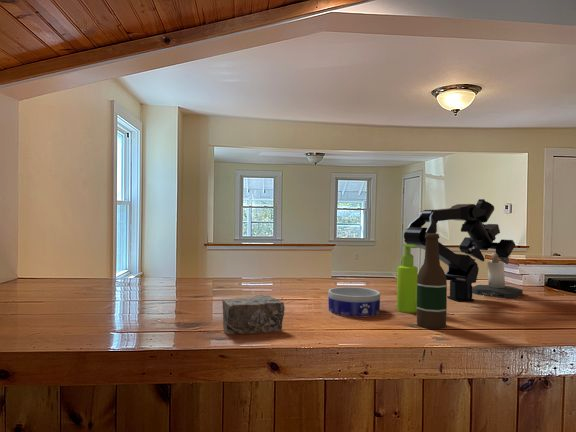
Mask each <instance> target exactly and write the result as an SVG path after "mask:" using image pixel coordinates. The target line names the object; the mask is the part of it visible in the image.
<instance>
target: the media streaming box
mask: <svg viewBox="0 0 576 432" xmlns="http://www.w3.org/2000/svg"><path fill="white" fill-rule="evenodd" d="M523 290H524V289H522V288H518V287H515V286H510V285H505V287H504V288H491V287H489V285H488V284H476V285H474V286H473V293H472V295H473V294H474V295H477V296H483V295H484V297H491V298H498V299H504V300H506V299H507V300H509V299H510V300H512V299H517V298H520V297H522V296H523V295H524V294H523Z"/></svg>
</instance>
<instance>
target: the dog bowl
mask: <svg viewBox="0 0 576 432" xmlns="http://www.w3.org/2000/svg"><path fill="white" fill-rule="evenodd" d="M327 293H328V294H327V295H328V297H327V298H328V312H330V311H331V312H332V314H334V313H335V314H334V315H337V314H339V315H338V316H341V315H345V316H344V317H349V316H359V317H358V318H365V317H364V316H369V317H374V316H377V315H379V314H380V310H381V309H380V308H381V307H380V306H381V293H380V291H379V290H376V289H373V288H367V287H360V286H359V287H358V286H342V287H333V288H330V289H328V292H327ZM331 312H330V313H331ZM378 313H379V314H378ZM376 314H377V315H376ZM373 315H374V316H373ZM360 316H361V317H360ZM362 316H363V317H362Z"/></svg>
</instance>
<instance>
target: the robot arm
mask: <svg viewBox="0 0 576 432" xmlns="http://www.w3.org/2000/svg"><path fill="white" fill-rule="evenodd" d="M494 211H495V206H494V205H493V204H492V203H490V202H488V201H486V200H485V198H484V199H483V198H482V199H480V198H479V199H478V200H477V201H476V204H475V203H460V204H459V203H457V204H454V205H452V206H450V207H449V208H439V209H424V210H422V211H420V214H419V215H418V216H417V217H416V218H415V219H414V220H412V221H411V222H410V223H409V225H408V226H407V228H406V229H405V231H404V233H403V238H404V244H413V245H416V246H418V247H417V248H416V249H422V250H424V251H425V247H426V238H425V235H426V234H427V233H437V232H438V228H437V226H438V225H437V224H438V222H442V221H451V220H453V221H461V222H462V221H463V222H464V223H462V224H461V227H460V232H462V233H467V234H468V236H469V237H467V236H465V237H464V238H463V240H462V241H461V243H460V244H459V245H458V246H459V250H460V252H461V253H464V254H460V253H455V252H454V251H452V250H451V249H450V248H448V247H446V246H445V245H444V244H443V243H441V242H440V241H438V244H439V261H440V262H443V263H444V264H445V265H447V266H448V268H447V271H445V275H446V280H447V281H449V295H447V298H448V299H450V300H453V301H456V302H472V301H475V298H473V287H474V286H473V285H472V284H475V283H477V281H478V275H479V270H480V269H479V266H478V263H477V262H476V259H477V260H479V261H480V262H483V263H484V262H485V259H486V258H485V257H484V255H483V253H482V251H488V250H489V249H491V250H495V253H496V254H497V255H498V257H499V260H501V262H504V265H508V264H509V263H510V261H509V260H510V259H509V257H510V256H511V253H512V252H513V250H514V248H515V247H516V243H515V241H514V239H505V238H504V239H500V241H499V242H494V241H496V239H497V237H496V236H497V235H499V234H501V231H500V226H499V224H498V223H487V222H488V221H489V219H490V217H491V216H492V214H493V212H494ZM427 223H429V224H428V226H427V227H423V226H424V225H426V224H427ZM486 223H487V224H486ZM472 257H473V258H472Z"/></svg>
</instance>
